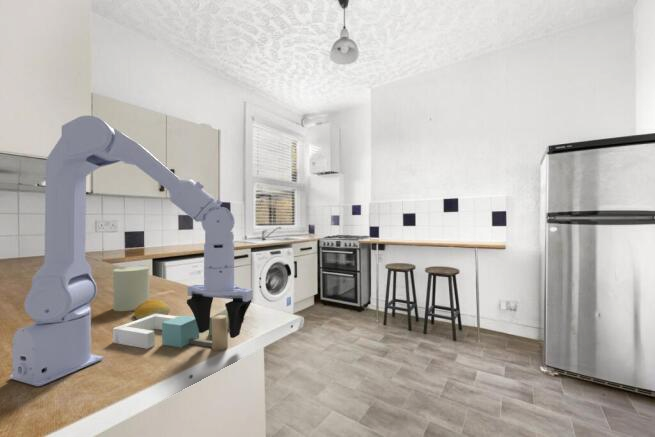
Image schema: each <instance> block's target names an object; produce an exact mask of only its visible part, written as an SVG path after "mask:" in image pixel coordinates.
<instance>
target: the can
mask: <svg viewBox="0 0 655 437" xmlns="http://www.w3.org/2000/svg"><path fill="white" fill-rule="evenodd" d="M112 274H113V276H112V277H113V308H112V310H113V311H115V312H129V311H134V310H135V308H136V307H137V306H138V305H140V304H141V303H143V302H144V301H147V300H150V267H149V266H144V265H143V266H142V265H141V266H139V265H138V266H124V267H119V268H115V269H113V270H112Z"/></svg>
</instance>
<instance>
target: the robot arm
mask: <svg viewBox="0 0 655 437" xmlns="http://www.w3.org/2000/svg"><path fill="white" fill-rule="evenodd" d="M120 162H122V163H123V164H127V165H131V166H133V165H134V166H136V167H137V168H138V169H140V170H141V171H143V173H145V174H146V175H148V176H149V177H150V178H152V179H153V180H155V182H157V183H158V184H159V185H161V186H162V187H164V188H165V189H166V190H167V191H168V192H169V200H170V202H171V203H173V204H174V205H175V206H176V207H177V208H178V209H180V210H181V211H182V212H183V213H185V214H186V215H188V216H189V217H190V218H191V219H192V220H193V221H194V222H197V223H198V222H199V223H201V226H202V229H203V230H204V232H205V234H204V239H205V240H204V245H203V284H191V285H188V286H187V296H189V297H190V298H188V299H187V300H186V304H187V306H188V307H189V309H190V310H191V312H192V314H193V317H195V319H196V323H197V326H198V330H199V334H203V333H205V332H208V331H209V326H210V318H211V309H212V306H213V302H214V301H213V300H214V298H218V299H225V300H226V299H227V300H231V301H229V302H225V303H224V304H225V305H224V306H225V310H226V309H227V312H228V317H229V329H228V331H229V337H230V338H231V339H234V338H236V337H238V336H239V335H240V333H241V328H242V326H243V321H244V319H245V316H246V313H247V312H248V309H249V307H250V305H251V303H252V300H253V299H254V298H253V294H254V293H253V292H254V291H253V289H252V288H251V289H250V288H244V287H239V286H236V284H235V243H234V236H235V234H234V232H233V231H232V230H234V229H233V228H234V226H235V217H234V215H233V213H232V212H231V211H230V210H229V209H228V207H223V206H221V205H222V204H223V202H222V200H220V199H219V198H218V199H215V198H214V197H213V196H212V195H211V194H209V193H208V192H207V191H205V189H204V187H205V186H204V185H203V183H201V182H200V181H197V182H195V181H194V180H193V179H182V178H180V177H179V176H177V175H176V174H175V173H174V172H173V171H172V170H171V169H169V168H168V167H167V166H166V165H164V164H163V163H162V162H161V161H160V160H159V159H157V157H155V156H154V155H153V154H152V153H151V152H150V151H149V150H147V149H146V148H145V147H143V146H142V145H141V144H140V143H138V142H137V141H135V140H134V139H132V138H131V137H130V136H127V135H126V134H124V133H123V132H121V131H120V130H118V129H117V128H114V127H111V126H110V125H109V124H108V123H107V122H106V121H104V120H103V119H101V118H100V117H97V116H94V115H81V116H78V117H76V118H74V119H72V120H70V121H69V122H66V123H64V124H63V125H61V136H60V138H58V141H57V143H55V145H54V147H53V148H52V149H51V151H50V153H49V154H48V156H47V158H46V160H45V190H44V192H45V193H44V194H45V195H44V197H45V198H44V199H45V200H44V203H45V204H44V205H45V207H44V208H45V209H44V262H43V264H42V266H41V267H40V268H39V269H38V270H37V271H36V273H35V274H34V275H33V276H32V278H31V280H32V281H31V287H30V290H29V292H28V293H27V295H26V297H25V299H24V301H23V302H24V310H25V313H27V315H28V316H29V317H30V318H31V319H33V320H34V322H32V323H30V324H29V325H27V326H24V327H23V326H22V327H21V328H19V329H17V330H16V331H15V332H14V334H13V337H12V344H11V345H12V352H11V353H12V355H11V356H12V359H11V360H12V371H11V372H12V374H10V375H9V378H10V379H11V380H14V381H18V382H22V383H25V384H28V385H32V386H35V387H41V386H44V385H46V384H48V383H51V382H53V381H55V380H57V379H60V378H62V377H65V376H67V375H69V374H71V373H74V372H76V371H78V370H80V369H83V368H85V367H87V366H91V365H92V364H95V363H97V362H100V361H102V360H103V358H104V357H103V356H102V355H98V354H93V353H92V337H91V336H92V313H91V312H92V309H91V305H90V303H91V302H92V301H94V299H95V297H96V296H97V294H98V284H97V282H96V281H95V279H94V277H93V274H92V273H93V272H92V271H93V270H92V269H93V268H92V267H91V265H90V264H89V262H88V261H87V260H86V235H87V234H86V232H87V231H86V230H87V229H86V225H87V224H86V220H87V214H86V212H87V211H86V210H87V176H88V175H90V174H92V173H94V172H95V171H96V170H98V169H99V168H102V167H106V166H110V165H113V164H117V163H120Z"/></svg>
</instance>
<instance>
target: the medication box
mask: <svg viewBox="0 0 655 437" xmlns="http://www.w3.org/2000/svg"><path fill="white" fill-rule="evenodd" d="M218 315H226V316H227V320H228V330H229V317H228V312H227V309H226V308H225V309H224V310H222V311H220V312H219V313H217V314H215V315H213V316H210V326H209V330H208V335H209V336H212V317H214V316H218Z"/></svg>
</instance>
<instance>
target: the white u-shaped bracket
mask: <svg viewBox="0 0 655 437" xmlns="http://www.w3.org/2000/svg"><path fill="white" fill-rule="evenodd" d="M178 316H179V315H170V314H166V315H163V314H153V315H150V316H147V317H144V318H142V319H139V320H138V319H136V320H134V321H129V322H128V323H124V324H121V325H119V326H116V327H113V328H112V343H114V344H119V345H125V346H130V347H136V348H141V349H146V350H148V349H150V348H152V347H155V344H156V341H155V340H156V338H155V330H161V331H162V323H163V322H165V321H168V320H170V319H173V318H176V317H178Z"/></svg>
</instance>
